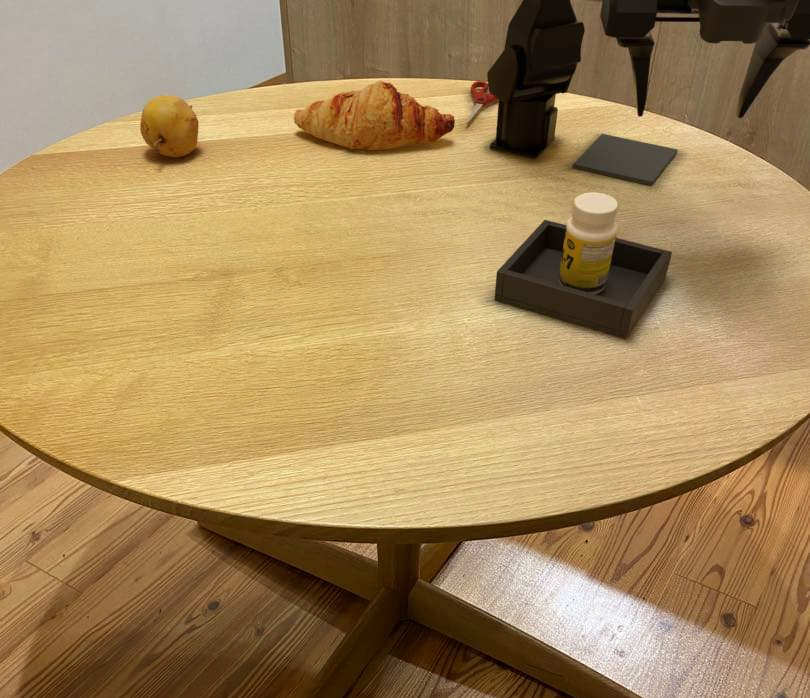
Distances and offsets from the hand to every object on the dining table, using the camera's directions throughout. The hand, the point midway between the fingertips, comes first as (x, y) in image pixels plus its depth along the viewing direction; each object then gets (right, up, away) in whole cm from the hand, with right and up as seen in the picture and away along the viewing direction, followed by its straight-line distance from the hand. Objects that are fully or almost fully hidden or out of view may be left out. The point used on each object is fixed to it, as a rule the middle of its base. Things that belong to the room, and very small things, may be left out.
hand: (689, 115), depth 74 cm
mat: (+1, +7, +24) cm, 25 cm away
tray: (-9, -15, +5) cm, 18 cm away
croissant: (-31, +13, +29) cm, 44 cm away
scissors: (-16, +20, +35) cm, 43 cm away
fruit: (-56, +9, +27) cm, 63 cm away
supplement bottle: (-9, -15, +4) cm, 18 cm away
